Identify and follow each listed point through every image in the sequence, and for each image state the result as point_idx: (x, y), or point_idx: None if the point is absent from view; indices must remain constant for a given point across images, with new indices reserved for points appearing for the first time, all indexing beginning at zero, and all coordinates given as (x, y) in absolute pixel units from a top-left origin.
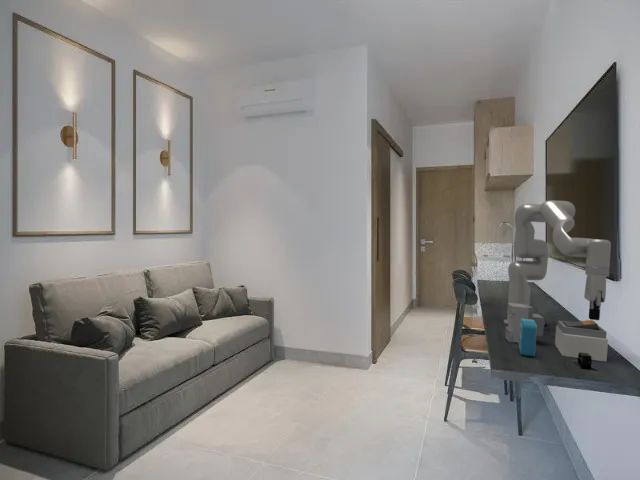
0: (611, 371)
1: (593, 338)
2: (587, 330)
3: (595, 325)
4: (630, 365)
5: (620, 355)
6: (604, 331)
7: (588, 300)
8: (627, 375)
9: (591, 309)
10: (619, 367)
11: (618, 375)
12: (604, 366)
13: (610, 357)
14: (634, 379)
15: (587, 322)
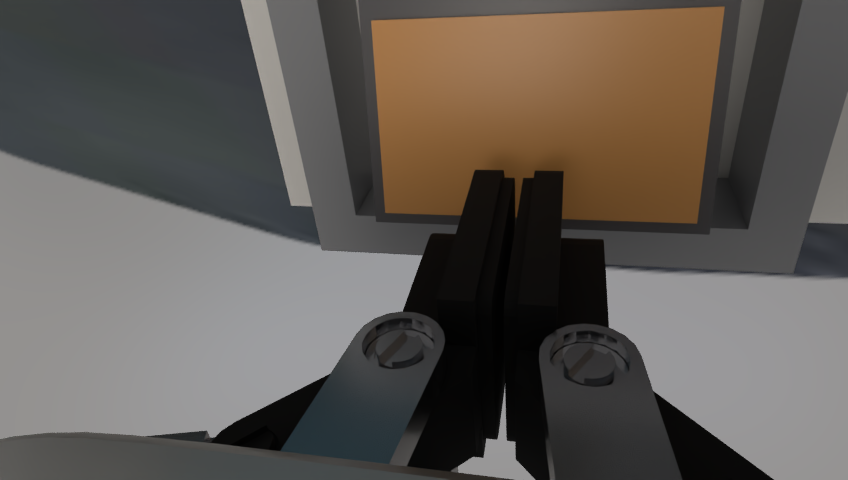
0: (112, 78)
1: (260, 66)
2: (278, 29)
3: (377, 183)
4: None
5: (649, 270)
6: (329, 233)
7: (216, 446)
8: (105, 155)
9: (442, 314)
10: (264, 160)
11: (55, 99)
12: (207, 59)
13: None
14: (55, 169)
15: (520, 107)
